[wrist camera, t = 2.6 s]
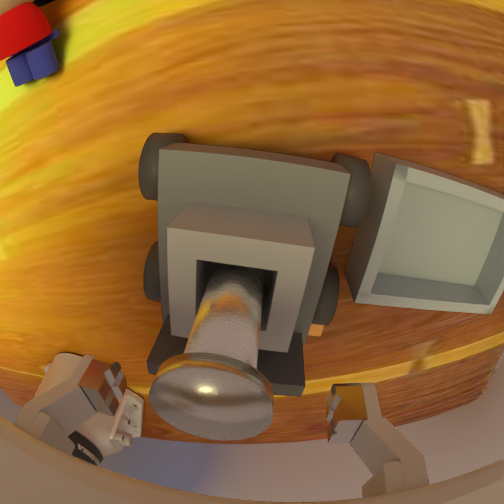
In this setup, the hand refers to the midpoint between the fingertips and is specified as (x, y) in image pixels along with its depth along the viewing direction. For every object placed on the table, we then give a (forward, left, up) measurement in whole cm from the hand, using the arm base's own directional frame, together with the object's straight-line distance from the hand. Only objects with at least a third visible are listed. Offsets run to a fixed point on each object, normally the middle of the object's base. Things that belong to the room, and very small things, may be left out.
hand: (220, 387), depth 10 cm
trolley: (0, 0, -16) cm, 16 cm away
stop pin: (0, 0, -10) cm, 10 cm away
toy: (+19, +22, -17) cm, 34 cm away
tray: (+2, -17, -16) cm, 24 cm away
